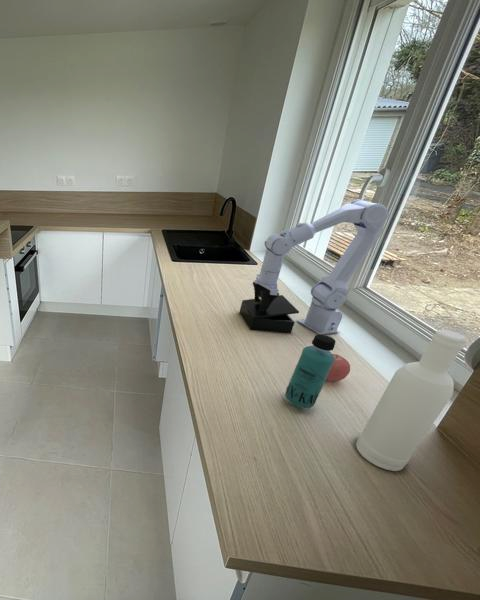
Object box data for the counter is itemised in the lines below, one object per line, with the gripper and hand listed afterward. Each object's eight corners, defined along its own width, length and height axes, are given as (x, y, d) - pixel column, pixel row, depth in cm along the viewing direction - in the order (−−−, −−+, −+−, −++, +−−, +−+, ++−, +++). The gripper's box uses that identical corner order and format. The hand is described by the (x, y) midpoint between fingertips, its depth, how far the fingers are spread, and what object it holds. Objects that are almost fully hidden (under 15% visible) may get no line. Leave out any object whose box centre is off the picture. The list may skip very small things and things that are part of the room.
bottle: (356, 459, 67) (426, 337, 54) (353, 433, 73) (415, 318, 60) (407, 479, 63) (496, 353, 50) (399, 450, 69) (477, 331, 56)
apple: (329, 388, 86) (340, 364, 83) (305, 372, 93) (314, 349, 89) (350, 384, 88) (361, 360, 85) (325, 368, 95) (335, 345, 91)
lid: (282, 296, 120) (282, 286, 119) (298, 313, 108) (299, 301, 107) (242, 301, 124) (241, 291, 122) (254, 318, 112) (253, 307, 110)
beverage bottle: (284, 391, 85) (309, 326, 76) (314, 403, 81) (344, 336, 73) (280, 405, 81) (305, 338, 72) (311, 418, 77) (342, 349, 68)
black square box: (275, 315, 124) (278, 304, 122) (290, 333, 112) (294, 322, 110) (239, 312, 126) (241, 302, 124) (250, 330, 114) (253, 318, 112)
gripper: (251, 262, 117) (242, 296, 123) (266, 276, 104) (255, 313, 110) (271, 263, 116) (262, 297, 122) (289, 278, 103) (277, 315, 109)
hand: (260, 305), depth 116 cm, fingers closed on lid, 5 cm apart
